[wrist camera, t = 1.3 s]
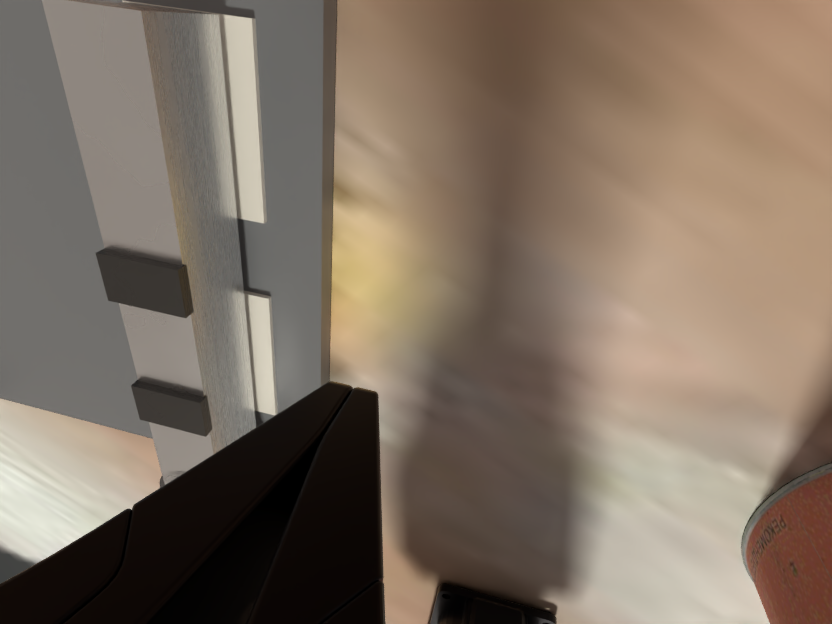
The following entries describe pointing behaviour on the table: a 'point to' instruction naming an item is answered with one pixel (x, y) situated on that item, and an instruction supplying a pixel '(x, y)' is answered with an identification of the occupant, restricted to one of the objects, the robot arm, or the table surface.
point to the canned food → (793, 550)
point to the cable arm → (163, 212)
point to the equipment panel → (255, 204)
